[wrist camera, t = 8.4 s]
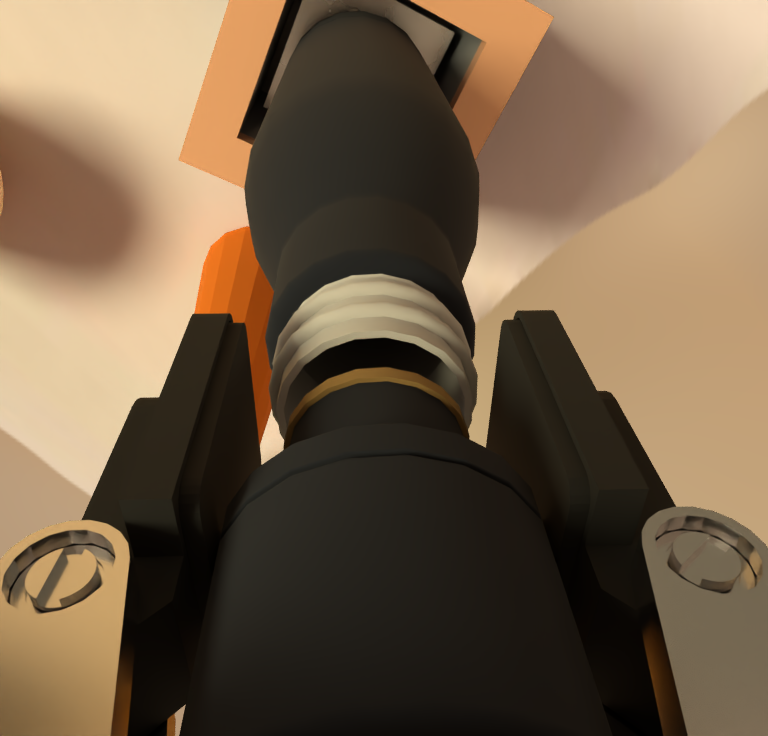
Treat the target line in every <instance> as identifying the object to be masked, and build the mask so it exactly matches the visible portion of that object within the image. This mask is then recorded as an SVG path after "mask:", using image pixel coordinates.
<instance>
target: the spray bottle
mask: <svg viewBox="0 0 768 736" xmlns="http://www.w3.org/2000/svg"><path fill="white" fill-rule="evenodd" d="M273 294H274V291H273V289H272V287H271V286H270V284H269V282H268V280H267V278H266V276H265V274H264V272H263V270H262V268H261V266H260V264H259V262H258V261H257V259H256V256H255V252H254V247H253V243H252V238H251V232H250V227H243V228H240V229H237V230H234V231H231V232H228V233H225V234H224V235H223V236H222V237H221V238H220V239H219V240H218V241H216V242H215V243H214V244H213V245H212V246H211V248H210V250H209V252H208V255H207V257H206V260H205V262H204V265H203V270H202V276H201V281H200V286H199V292H198V297H197V302H196V308H195V313H194V314H213V313H230V314H231V315H232V318H233V323H245V325H246V330H247V338H248V347H249V356H250V364H251V373H252V382H253V391H254V400H255V409H256V418H257V426H258V435H259V444H260V443H261V440H262V437H263V434H264V430H265V427H266V424H267V421H268V418H269V415H270V412H271V409H272V406H271V400H270V394H269V388H268V387H269V383H270V378H271V374H272V370H271V369H270V365H269V359H268V353H267V346H266V340H265V334H266V329H267V324H268V319H269V314H270V309H271V304H272V299H273Z"/></svg>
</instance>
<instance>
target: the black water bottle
mask: <svg viewBox="0 0 768 736" xmlns="http://www.w3.org/2000/svg"><path fill="white" fill-rule="evenodd" d="M244 188H245V199H246V207H247V213H248V220H249V226H250V232H251V238H252V243H253V247H254V252H255V256H256V259H257V261H258V262H259V264H260V266H261V268H262V270H263V272H264V274H265V276H266V278H267V280H268V282H269V284H270V286H271V287H272V289H273V291H274V294H273V299H272V304H271V309H270V314H269V319H268V324H267V329H266V334H265V340H266V346H267V353H268V359H269V365H270V369H271V370H272V374H271V378H270V383H269V387H268V388H269V394H270V400H271V406H272V412H273V416H274V418H275V420H276V421H277V423H278V425H279V430H280V434H281V436H282V437H283V439H284V450H283V451H282V452H280V453H279V454H277V455H276V456H274V457H273V458H271V459H270V460H269V461H267V462H266V463H264V464H263V465H261V466H260V467H258V468H257V469H255V470H254V471H252V473H251V474H250V475H249V477H248V478H247V480H246V481H245V482H244V484H243V485H242V486H241V488H240V489H239V491H238V492H237V493H236V495H235V496H234V497H233V499H232V500H231V502H230V503H229V504H228V506H227V508H226V513H225V518H224V523H223V527H222V532H221V537H220V542H219V547H218V551H217V556H216V561H215V566H214V571H213V576H212V580H211V585H210V590H209V595H208V600H207V604H206V609H205V614H204V619H203V624H202V629H201V633H200V638H199V643H198V648H197V653H196V658H195V662H194V667H193V672H192V677H191V682H190V686H189V691H188V696H187V701H186V706H185V711H184V715H183V720H182V726H181V730H180V735H179V736H612V733H611V730H610V726H609V723H608V720H607V717H606V714H605V711H604V708H603V705H602V702H601V699H600V696H599V693H598V690H597V687H596V684H595V680H594V677H593V674H592V671H591V668H590V665H589V662H588V659H587V656H586V653H585V650H584V647H583V644H582V641H581V638H580V634H579V631H578V628H577V625H576V622H575V619H574V616H573V613H572V610H571V607H570V604H569V601H568V598H567V595H566V592H565V588H564V585H563V582H562V579H561V576H560V573H559V570H558V567H557V564H556V561H555V558H554V555H553V552H552V549H551V546H550V542H549V539H548V536H547V533H546V530H545V527H544V524H543V521H542V518H541V515H540V512H539V509H538V507H537V504H536V501H535V498H534V495H533V492H532V489H531V487H530V486H529V485H528V484H527V483H526V482H525V481H524V479H523V478H522V477H521V476H520V475H519V474H518V473H517V472H516V471H515V470H514V469H513V468H512V467H511V466H510V464H509V463H508V462H507V461H506V460H505V459H504V458H503V457H502V456H501V455H499V454H497V453H495V452H493V451H491V450H489V449H487V448H485V447H483V446H481V445H479V444H477V443H475V442H473V441H471V440H469V433H468V428H469V426H470V424H471V421H472V412H473V410H474V407H475V405H476V400H477V399H476V398H477V372H476V369H475V367H474V364H473V361H472V359H473V357H474V346H475V322H474V319H473V316H472V313H471V309H470V306H469V303H468V300H467V297H466V294H465V291H464V287H463V284H462V280H463V277H464V275H465V272H466V270H467V267H468V264H469V262H470V259H471V256H472V254H473V251H474V248H475V246H476V238H477V230H478V210H479V172H478V169H477V165H476V162H475V159H474V155H473V152H472V149H471V145H470V142H469V138H468V137H467V135H466V133H465V131H464V129H463V128H462V126H461V124H460V122H459V121H458V119H457V117H456V115H455V113H454V112H453V110H452V108H451V106H450V105H449V103H448V101H447V99H446V97H445V96H444V94H443V92H442V90H441V89H440V87H439V85H438V83H437V81H436V80H435V78H434V76H433V74H432V73H431V71H430V69H429V67H428V65H427V64H426V62H425V60H424V58H423V57H422V55H421V53H420V51H419V50H418V49H417V47H416V46H415V44H414V43H413V41H412V40H411V39H410V37H409V36H408V34H407V33H406V32H405V31H404V30H402V29H401V28H400V27H398V26H397V25H396V24H394V23H393V22H392V21H390V20H389V19H387V18H385V17H382V16H379V15H375V14H372V13H369V12H366V11H355V12H340V13H337V14H335V15H333V16H330V17H328V18H326V19H323V20H321V21H319V22H318V23H317V24H315V25H314V26H313V27H312V28H311V29H310V30H309V31H308V32H307V33H306V34H305V35H304V36H303V37H301V39H300V41H299V43H298V44H297V46H296V48H295V50H294V52H293V54H292V55H291V57H290V59H289V62H288V64H287V66H286V69H285V71H284V73H283V76H282V78H281V80H280V83H279V85H278V87H277V90H276V92H275V94H274V97H273V99H272V101H271V104H270V106H269V108H268V111H267V113H266V115H265V118H264V120H263V122H262V125H261V127H260V129H259V132H258V134H257V136H256V139H255V141H254V143H253V146H252V148H251V151H250V156H249V162H248V168H247V174H246V180H245V186H244Z"/></svg>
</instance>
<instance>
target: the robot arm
mask: <svg viewBox="0 0 768 736" xmlns="http://www.w3.org/2000/svg"><path fill="white" fill-rule="evenodd" d="M486 448H487V449H489V450H491V451H493V452H495V453H497V454H499V455H501V456H502V457H503V458H504V459H505V460H506V461H507V462H508V463H509V464H510V466H511V467H512V468H513V469H514V470H515V471H516V472H517V473H518V474H519V475H520V476H521V477H522V478H523V479H524V481H525V482H526V483H527V484H528V485H529V486H530V487H531V489H532V492H533V495H534V498H535V501H536V504H537V507H538V509H539V512H540V515H541V518H542V521H543V524H544V527H545V530H546V533H547V536H548V539H549V542H550V546H551V549H552V552H553V555H554V558H555V561H556V564H557V567H558V570H559V573H560V576H561V579H562V582H563V585H564V588H565V592H566V595H567V598H568V601H569V604H570V607H571V610H572V613H573V616H574V619H575V622H576V625H577V628H578V631H579V634H580V638H581V641H582V644H583V647H584V650H585V653H586V656H587V659H588V662H589V665H590V668H591V671H592V674H593V677H594V680H595V684H596V687H597V690H598V693H599V696H600V699H601V702H602V705H603V708H604V711H605V714H606V717H607V720H608V723H609V726H610V730H611V733H612V736H768V548H767V546H766V544H765V543H764V542H762V541H761V540H760V539H759V538H758V537H757V536H756V535H755V534H754V533H753V532H752V531H751V530H749V529H748V528H746V527H745V526H743V525H741V524H740V523H738V522H737V521H735V520H733V519H732V518H729V517H727V516H724V515H722V514H719V513H717V512H714V511H711V510H706V509H701V508H696V507H676V506H675V504H674V502H673V500H672V499H671V497H670V495H669V493H668V491H667V489H666V488H665V486H664V484H663V482H662V481H661V479H660V477H659V475H658V474H657V472H656V470H655V468H654V467H653V465H652V463H651V461H650V459H649V457H648V456H647V454H646V452H645V450H644V449H643V447H642V445H641V443H640V441H639V440H638V438H637V436H636V434H635V432H634V431H633V429H632V427H631V425H630V424H629V422H628V420H627V419H626V416H625V415H624V413H623V411H622V409H621V408H620V406H619V404H618V402H617V400H616V399H615V397H613V395H612V394H611V393H610V392H607V391H597V390H596V388H595V386H594V384H593V382H592V380H591V379H590V377H589V375H588V373H587V371H586V369H585V367H584V365H583V363H582V362H581V360H580V358H579V356H578V354H577V352H576V350H575V348H574V347H573V345H572V343H571V341H570V339H569V337H568V335H567V333H566V331H565V330H564V328H563V326H562V324H561V322H560V320H559V318H558V316H557V315H556V313H555V312H554V311H552V310H542V311H541V310H540V311H538V310H537V311H517V312H516V313H515V316H514V319H513V320H504V321H503V323H502V326H501V332H500V340H499V348H498V356H497V364H496V373H495V380H494V388H493V396H492V404H491V412H490V420H489V428H488V436H487V444H486ZM260 466H261V453H260V444H259V435H258V426H257V418H256V409H255V400H254V391H253V382H252V373H251V364H250V356H249V347H248V338H247V330H246V325H245V323H233V318H232V315H231V314H230V313H213V314H193V315H192V316H191V319H190V321H189V324H188V326H187V329H186V331H185V334H184V336H183V339H182V341H181V344H180V346H179V349H178V351H177V354H176V356H175V359H174V361H173V364H172V366H171V369H170V371H169V374H168V376H167V379H166V382H165V384H164V387H163V389H162V392H161V394H160V397H159V398H139V399H137V400H136V401H135V403H134V404H133V406H132V408H131V410H130V413H129V415H128V417H127V419H126V422H125V424H124V426H123V428H122V430H121V433H120V435H119V437H118V439H117V442H116V444H115V446H114V448H113V451H112V453H111V455H110V457H109V460H108V462H107V464H106V466H105V469H104V471H103V473H102V475H101V478H100V480H99V482H98V484H97V487H96V489H95V491H94V493H93V496H92V498H91V500H90V502H89V505H88V507H87V509H86V511H85V514H84V516H83V518H82V520H80V521H79V520H77V521H68V522H63V523H59V524H55V525H51V526H48V527H46V528H44V529H41V530H39V531H37V532H35V533H33V534H30V535H28V536H27V537H26V538H24V539H23V540H21V541H20V542H18V543H17V544H16V545H14V546H13V547H11V548H10V549H9V550H8V551H7V552H6V553H5V555H4V556H3V557H2V558H1V559H0V736H175V723H176V719H175V712H177V711H178V710H179V709H180V708H181V707H183V706H184V705H185V704H186V701H187V696H188V691H189V686H190V682H191V677H192V672H193V667H194V662H195V658H196V653H197V648H198V643H199V638H200V633H201V629H202V624H203V619H204V614H205V609H206V604H207V600H208V595H209V590H210V585H211V580H212V576H213V571H214V566H215V561H216V556H217V551H218V547H219V542H220V537H221V532H222V527H223V523H224V518H225V513H226V508H227V506H228V504H229V503H230V502H231V500H232V499H233V497H234V496H235V495H236V493H237V492H238V491H239V489H240V488H241V486H242V485H243V484H244V482H245V481H246V480H247V478H248V477H249V475H250V474H251V473H252V471H254V470H255V469H257V468H258V467H260Z"/></svg>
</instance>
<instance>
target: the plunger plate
mask: <svg viewBox="0 0 768 736" xmlns="http://www.w3.org/2000/svg"><path fill="white" fill-rule="evenodd" d="M355 11H366V12H369V13H372V14H375V15H379V16H382V17H385V18H387V19H389V20H390V21H392V22H393V23H394V24H396V25H397V26H398V27H400V28H401V29H402V30H404V31H405V32H406V33H407V34H408V36H409V37H410V39H411V40H412V41H413V43H414V44H415V46H416V47H417V49H418V50H419V51H420V53H421V55H422V57H423V58H424V60H425V62H426V64H427V65H428V67H429V69H430V71H431V73H432V74H433V76H434V74H435V72H436V70H437V68H438V66H439V64H440V62H441V60H442V58H443V56H444V54H445V52H446V50H447V47H448V45H449V43H450V41H451V39H452V37H453V35H454V31H453V30H451V29H449V28H448V27H446V26H444V25H442V24H440V23H439V22H437V21H435V20H433V19H431V18H429V17H428V16H426V15H424V14H422V13H420V12H418V11H417V10H415V9H413V8H411V7H409V6H407V5H406V4H404V3H402V2H400V1H398V0H302V3H301V6H300V8H299V11H298V14H297V16H296V19H295V22H294V25H293V27H292V30H291V33H290V35H289V38H288V41H287V44H286V46H285V49H284V52H283V54H282V57H281V60H280V63H279V65H278V68H277V71H276V73H275V76H274V79H273V82H272V84H271V87H270V90H269V92H268V95H267V98H266V101H265V103H264V106H263V107H265V108H267V109H268V108H269V106H270V104H271V101H272V99H273V97H274V94H275V92H276V90H277V87H278V85H279V83H280V80H281V78H282V76H283V73H284V71H285V69H286V66H287V64H288V62H289V59H290V57H291V55H292V54H293V52H294V50H295V48H296V46H297V44H298V43H299V41H300V39H301V37H303V36H304V35H305V34H306V33H307V32H308V31H309V30H310V29H311V28H312V27H313V26H314V25H315V24H317V23H318V22H319V21H321V20H323V19H326V18H328V17H330V16H333V15H335V14H337V13H340V12H355Z"/></svg>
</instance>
